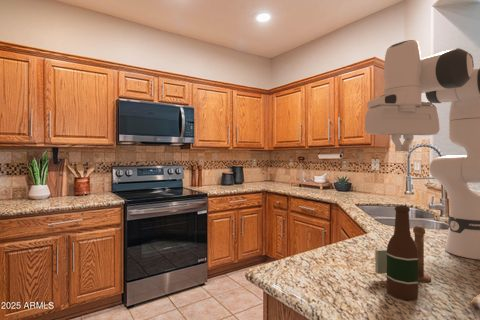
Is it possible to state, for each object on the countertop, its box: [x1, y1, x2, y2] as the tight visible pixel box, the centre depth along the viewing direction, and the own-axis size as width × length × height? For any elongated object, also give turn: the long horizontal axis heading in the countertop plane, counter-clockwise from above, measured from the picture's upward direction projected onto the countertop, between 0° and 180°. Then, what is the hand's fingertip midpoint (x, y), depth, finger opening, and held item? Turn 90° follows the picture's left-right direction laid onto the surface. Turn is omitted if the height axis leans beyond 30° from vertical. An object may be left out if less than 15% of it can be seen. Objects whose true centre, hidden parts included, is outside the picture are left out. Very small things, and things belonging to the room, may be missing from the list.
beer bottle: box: [386, 204, 419, 302], centre depth 74 cm, size 8×8×24 cm
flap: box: [374, 248, 387, 274], centre depth 84 cm, size 12×1×7 cm, turn 95°
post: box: [412, 225, 432, 283], centre depth 84 cm, size 6×6×16 cm
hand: (402, 151), depth 74 cm, fingers closed
